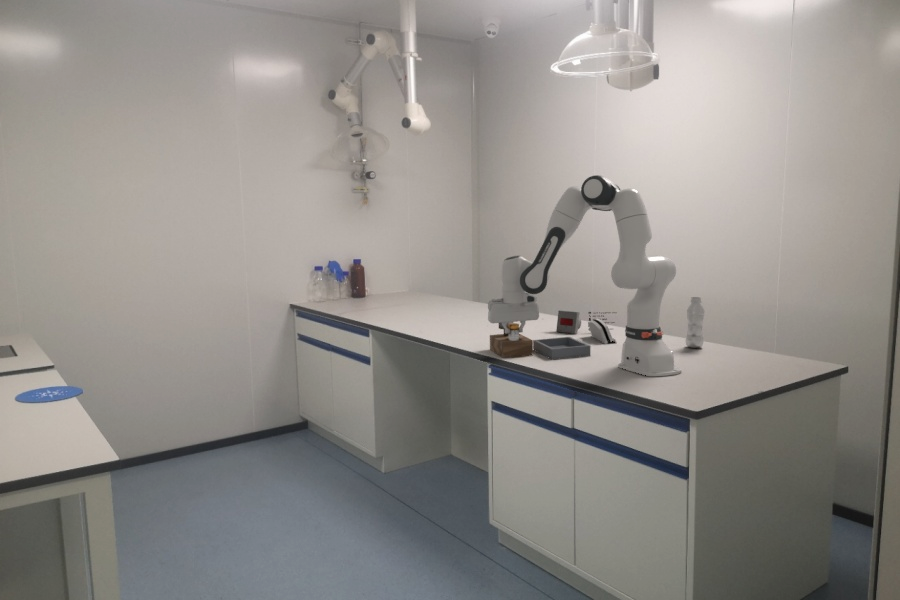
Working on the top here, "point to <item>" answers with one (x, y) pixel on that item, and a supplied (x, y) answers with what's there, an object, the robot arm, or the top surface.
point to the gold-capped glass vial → (514, 332)
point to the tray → (561, 347)
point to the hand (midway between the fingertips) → (513, 332)
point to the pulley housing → (510, 345)
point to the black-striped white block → (600, 331)
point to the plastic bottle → (695, 323)
